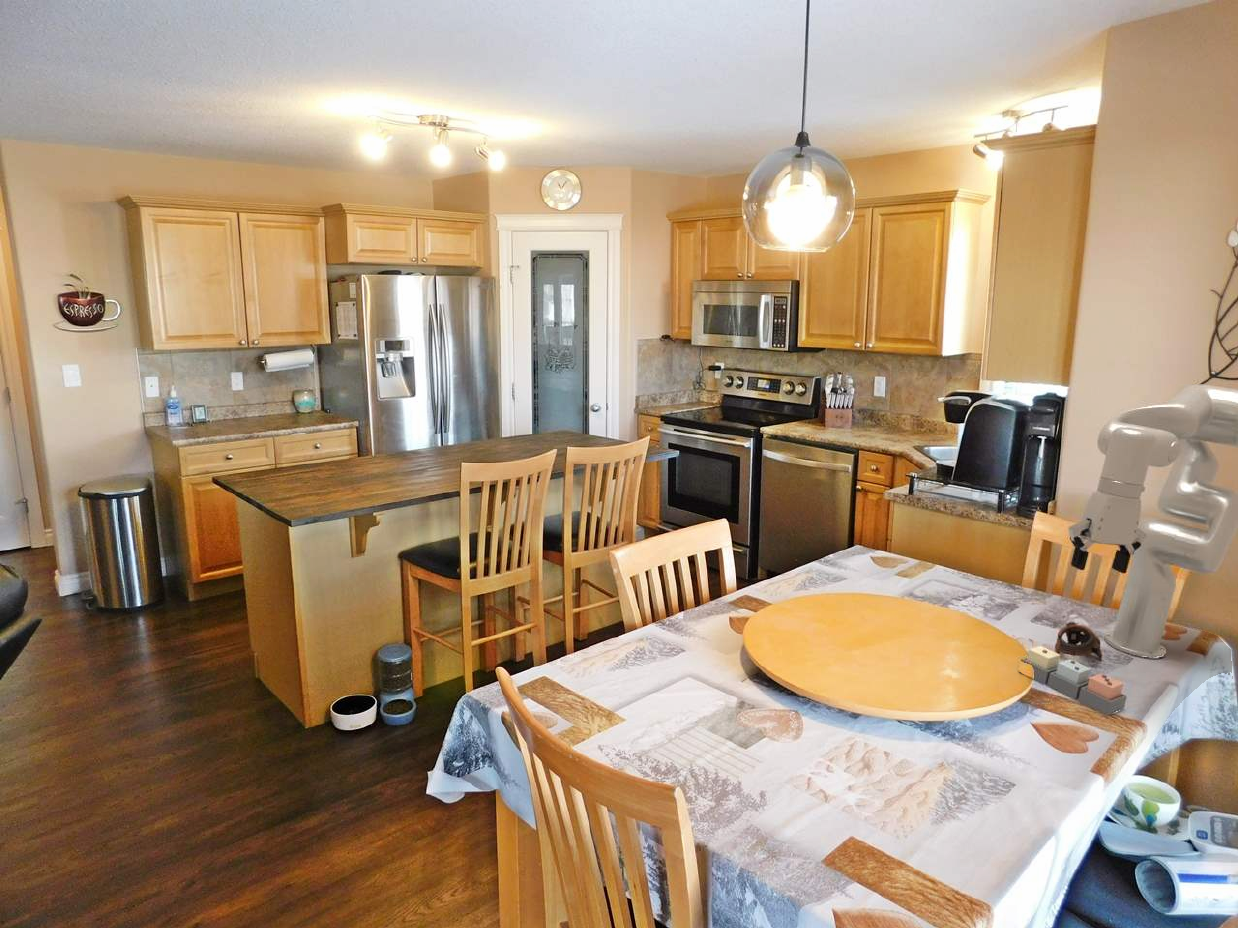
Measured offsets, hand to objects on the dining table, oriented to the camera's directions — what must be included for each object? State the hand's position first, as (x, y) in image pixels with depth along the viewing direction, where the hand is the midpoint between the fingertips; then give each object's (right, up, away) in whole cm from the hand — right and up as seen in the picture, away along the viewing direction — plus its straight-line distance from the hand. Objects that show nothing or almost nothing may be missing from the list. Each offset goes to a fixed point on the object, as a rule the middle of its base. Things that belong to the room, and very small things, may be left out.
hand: (1098, 569), depth 165 cm
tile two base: (-5, -25, +2) cm, 26 cm away
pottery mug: (+7, -22, +20) cm, 31 cm away
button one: (-8, -22, +7) cm, 25 cm away
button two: (-4, -24, +2) cm, 25 cm away
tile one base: (-8, -24, +8) cm, 26 cm away
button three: (-1, -26, -3) cm, 26 cm away
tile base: (-1, -27, -3) cm, 27 cm away
